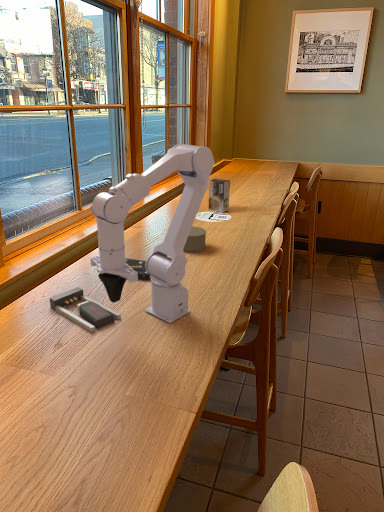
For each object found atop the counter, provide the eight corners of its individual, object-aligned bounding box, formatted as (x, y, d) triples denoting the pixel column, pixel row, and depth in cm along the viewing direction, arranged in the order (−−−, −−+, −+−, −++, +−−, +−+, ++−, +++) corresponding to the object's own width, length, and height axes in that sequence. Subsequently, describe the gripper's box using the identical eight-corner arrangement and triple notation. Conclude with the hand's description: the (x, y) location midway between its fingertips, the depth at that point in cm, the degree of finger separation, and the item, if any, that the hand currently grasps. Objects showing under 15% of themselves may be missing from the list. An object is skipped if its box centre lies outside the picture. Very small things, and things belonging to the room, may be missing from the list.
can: (202, 254, 144) (203, 237, 142) (171, 251, 146) (171, 234, 144) (208, 244, 155) (208, 227, 153) (178, 241, 157) (178, 225, 155)
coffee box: (229, 211, 203) (230, 180, 197) (223, 213, 198) (224, 182, 192) (213, 208, 207) (215, 178, 202) (207, 211, 202) (208, 180, 196)
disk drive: (160, 270, 132) (120, 264, 135) (160, 262, 131) (120, 256, 134) (149, 282, 122) (106, 275, 126) (149, 274, 121) (106, 268, 125)
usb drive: (97, 330, 96) (96, 320, 95) (74, 312, 104) (73, 303, 103) (115, 323, 99) (114, 313, 98) (91, 306, 107) (90, 297, 106)
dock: (120, 318, 101) (120, 308, 100) (91, 332, 94) (90, 321, 93) (79, 296, 112) (78, 286, 110) (50, 307, 105) (49, 297, 104)
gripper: (77, 243, 88) (82, 296, 93) (118, 259, 80) (122, 317, 85) (102, 236, 93) (106, 287, 98) (144, 251, 85) (145, 305, 90)
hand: (115, 300), depth 92 cm, fingers closed
